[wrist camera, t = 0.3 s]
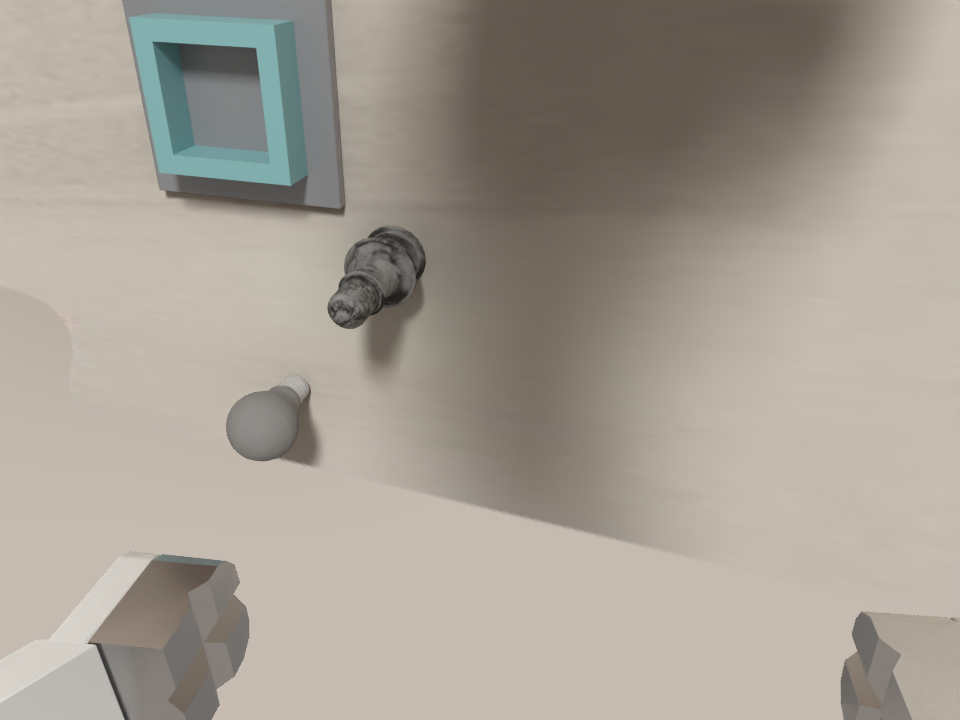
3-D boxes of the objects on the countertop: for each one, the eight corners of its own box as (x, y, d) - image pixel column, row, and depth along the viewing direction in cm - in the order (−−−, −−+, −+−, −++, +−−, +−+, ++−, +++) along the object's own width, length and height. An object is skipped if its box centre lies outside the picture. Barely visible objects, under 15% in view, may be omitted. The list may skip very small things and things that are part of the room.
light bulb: (262, 392, 72) (205, 454, 63) (277, 345, 68) (220, 404, 60) (317, 421, 72) (268, 486, 63) (336, 375, 69) (287, 438, 60)
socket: (125, -28, 55) (89, -25, 52) (329, -19, 52) (304, -15, 49) (166, 186, 63) (137, 201, 60) (345, 204, 60) (324, 221, 57)
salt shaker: (371, 210, 60) (306, 268, 50) (438, 240, 60) (387, 304, 50) (353, 272, 63) (289, 338, 53) (416, 300, 63) (365, 372, 53)
